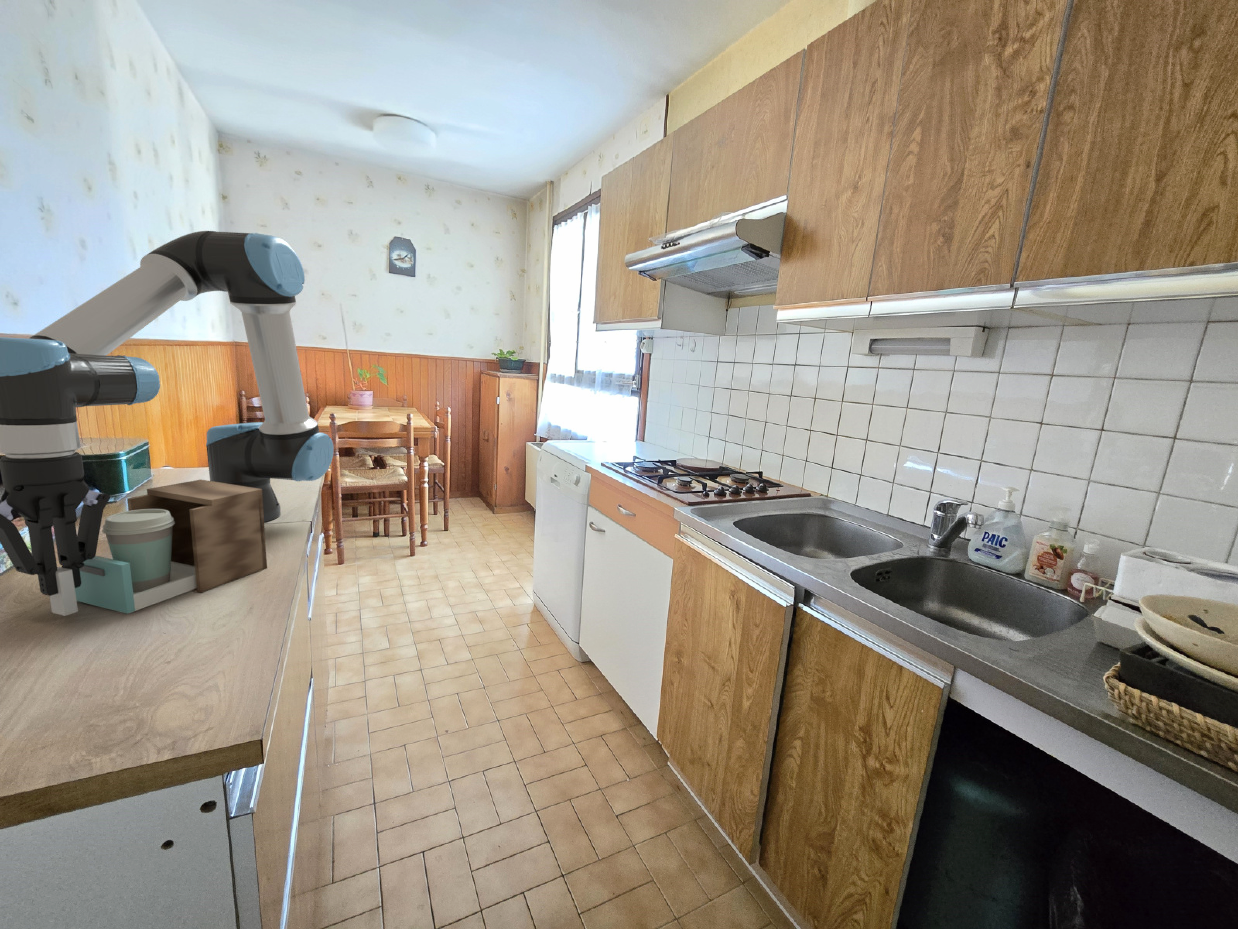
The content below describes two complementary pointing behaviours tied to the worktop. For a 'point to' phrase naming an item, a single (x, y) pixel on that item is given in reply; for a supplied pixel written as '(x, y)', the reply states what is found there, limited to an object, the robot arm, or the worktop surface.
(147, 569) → the coffee cup
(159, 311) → the robot arm
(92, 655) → the worktop surface
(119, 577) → the teal drawer
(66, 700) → the worktop surface
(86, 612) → the worktop surface
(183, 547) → the cubby
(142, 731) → the worktop surface
